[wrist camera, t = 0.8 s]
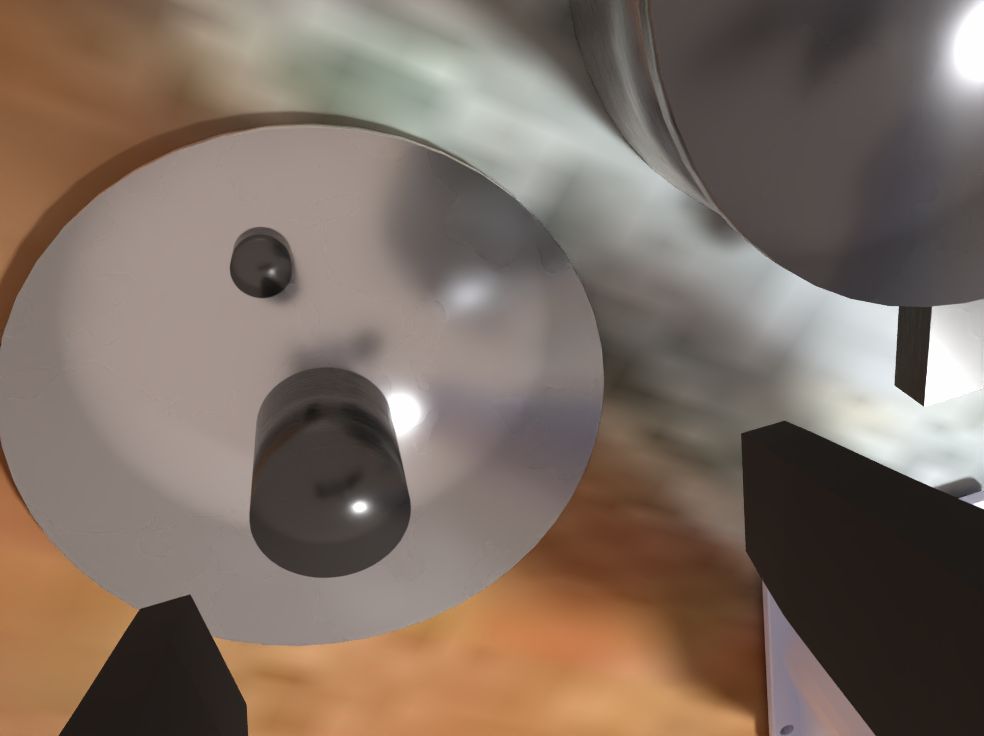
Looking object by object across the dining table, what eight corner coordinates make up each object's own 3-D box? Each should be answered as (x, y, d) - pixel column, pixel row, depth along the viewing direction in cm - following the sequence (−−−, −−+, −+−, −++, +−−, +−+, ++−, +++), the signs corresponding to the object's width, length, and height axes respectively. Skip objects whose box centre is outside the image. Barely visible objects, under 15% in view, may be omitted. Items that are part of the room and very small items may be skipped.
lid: (623, 537, 24) (684, 645, 20) (156, 684, 23) (130, 828, 19) (546, 48, 17) (616, 75, 14) (-128, 217, 16) (-256, 299, 12)
